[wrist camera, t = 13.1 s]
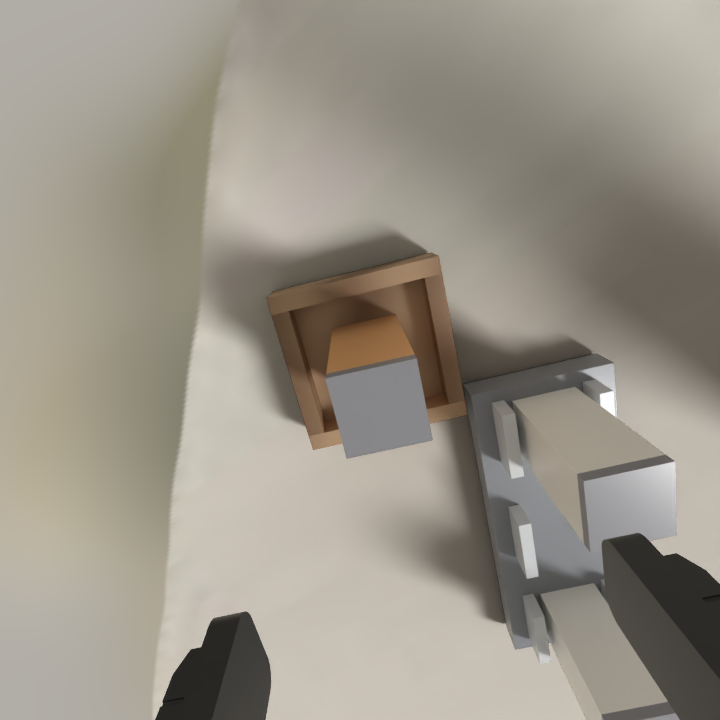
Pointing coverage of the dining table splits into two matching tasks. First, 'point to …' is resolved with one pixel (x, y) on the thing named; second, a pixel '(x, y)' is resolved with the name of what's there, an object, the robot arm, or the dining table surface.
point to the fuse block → (569, 521)
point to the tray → (358, 304)
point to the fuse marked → (376, 387)
